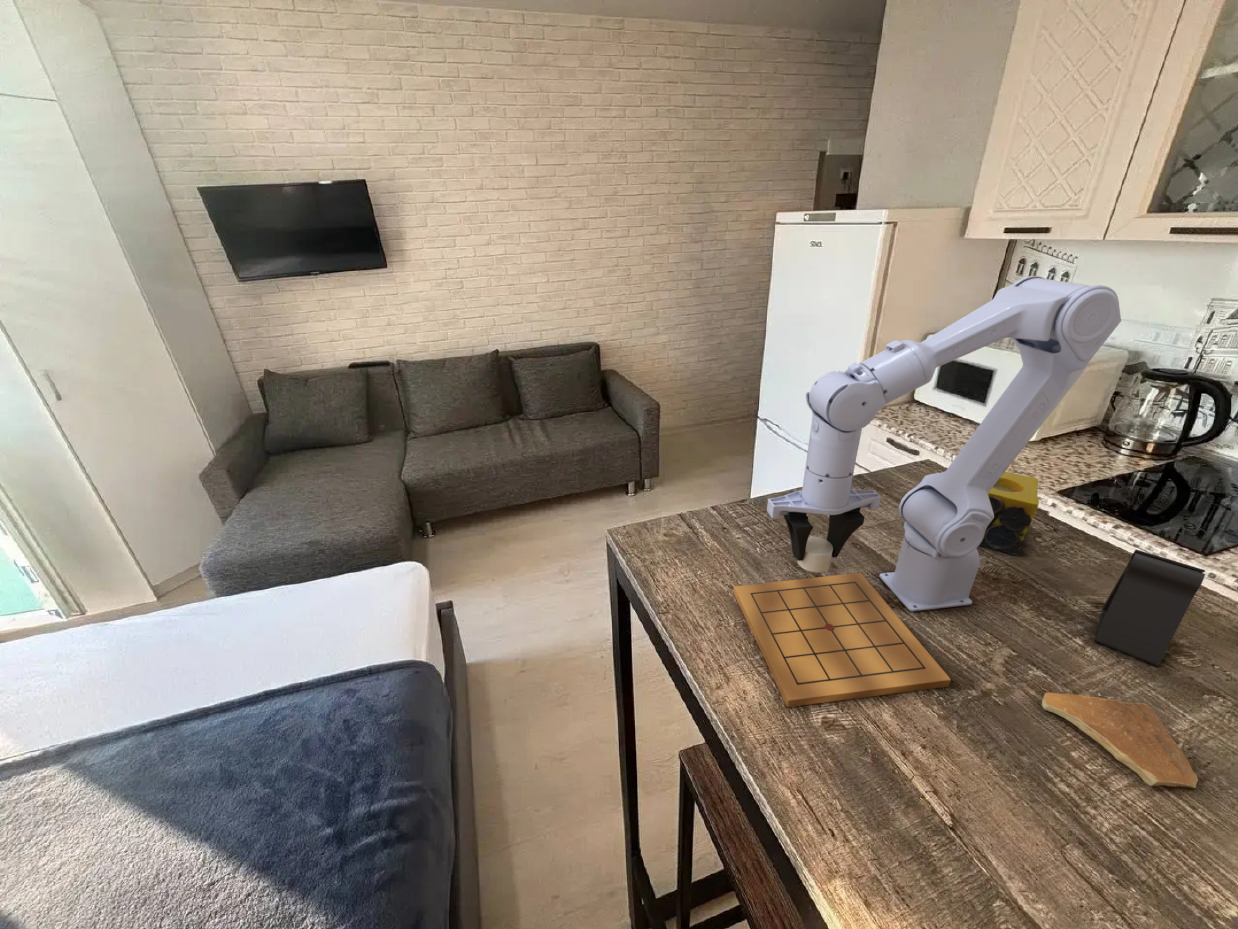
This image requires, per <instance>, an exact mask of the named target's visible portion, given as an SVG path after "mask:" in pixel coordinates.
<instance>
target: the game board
mask: <svg viewBox="0 0 1238 929" xmlns="http://www.w3.org/2000/svg"><path fill="white" fill-rule="evenodd" d="M733 594H734V597H735V599H736V601H737V604H738V606H739V607H740V610H741V612H742V615H743V616H744V618H745V621H746V623H747V625H748V627H749V629H750V631H751V633H752V635H753V638H754V639H755V642H756V644H757V646H758V648H759V650H760V652H761V655H762V657H763V659H764V661H765V663H766V665H767V668H768V669H769V671H770V674H771V676H772V679H773V680H774V682H775V684H776V686H777V688H778V691H779V693H780V695H781V697H782V699H783V701H784V704H785V705H786V707H787V708H791V707H793V708H794V707H800V706H801V707H802V706H808V705H817V704H823V703H824V704H825V703H832V702H838V701H839V702H841V701H846V700H854V699H863V698H869V697H870V698H871V697H879V696H886V695H892V694H894V695H895V694H901V693H908V692H915V691H923V690H932V689H939V688H946V687H949V686H950V683H951V682H952V679H951V678H950V676H949V675H948V674H947V673H946V671H945V670H944V669H943V668H942V667H941V666H940V665H939V663H938V662H937V661H936V660H935V659H934V658H933V656H932V655H931V654H930V653H929V652H928V651H927V650H926V648H925V647H924V646H923V645H922V643H921V642H920V641H919V639H917V637H916V636H915V635H914V634H913V633H912V631H911V630H910V629H909V628H908V626H906V624H905V623H904V622H903V621H902V620H901V619H900V617H899V616H898V615H897V613H896V612H895V611H894V610H893V609H892V608H891V606H890V605H889V604H888V603H887V602H886V601H885V600H884V598H883V597H882V596H881V595H880V594H879V592H878V591H877V590H876V589H875V588H874V586H872V584H871V583H870V582H869V581H868V580H867V578H866V577H865V576H864V575H863V573H862V572H854V573H845V574H838V575H837V574H836V575H835V574H834V575H826V576H818V577H809V578H808V577H807V578H799V579H789V580H780V581H771V582H763V583H753V584H745V585H744V584H743V585H734V586H733Z"/></svg>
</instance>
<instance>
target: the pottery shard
mask: <svg viewBox="0 0 1238 929" xmlns="http://www.w3.org/2000/svg"><path fill="white" fill-rule="evenodd" d="M1041 707H1042V709H1043V710H1044V711H1048V712H1050V713H1053V714H1055V715H1057V716H1059V717H1062V718H1064V719H1065V720H1067V721H1068V722H1070V723H1072V724H1073V726H1076V727H1077V728H1078V729H1079V730H1080V731H1082V732H1083V733H1084V734H1086V735H1087V736H1088V737H1090V738H1091V739H1092V740H1094V741H1095V742H1097V743H1098V744H1099V745H1101V747H1103V748H1104V749H1105V750H1106V751H1107V752H1109V753H1110V754H1111V755H1112V756H1113V757H1114V759H1116V760H1117V761H1118V762H1120V763H1122V764H1124V765H1125V766H1126V767H1128V768H1129V769H1130V770H1132V771H1133V772H1135V774H1137V775H1138V776H1139V778H1141V780H1143V782H1144V783H1145V784H1147V785H1148V786H1149V787H1155V786H1166V787H1184V788H1185V787H1186V788H1191V789H1196V788H1197V783H1198V781H1199V778H1198V776H1197V774H1196V773H1195V772H1194V770H1193V769H1192V765H1191V763H1190V762H1189V760H1188V758H1187V757H1186V755H1185V754H1184V753H1183V751H1182V749H1181V747H1180V746H1179V745H1178V743H1176V742H1175V740H1174V739H1173V738H1172V736H1171V734H1170V731H1169V730H1168V728H1167V727H1166V726H1165V725H1164V724H1163V722H1162V721H1161V720H1160V718H1159V717H1158V716H1157V715H1156V714H1155V712H1154V711H1153V710H1152V708H1150V706H1149V705H1148V704H1147V703H1142V702H1126V701H1125V702H1124V701H1119V700H1116V699H1109V698H1102V697H1097V696H1088V695H1081V694H1069V693H1059V692H1058V693H1057V692H1045V693H1044V695H1043V696H1042V702H1041Z"/></svg>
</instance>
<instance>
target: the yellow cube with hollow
mask: <svg viewBox="0 0 1238 929" xmlns="http://www.w3.org/2000/svg"><path fill="white" fill-rule="evenodd" d="M1038 485H1039V479H1038V478H1037V477H1034V476H1029V475H1023V474H1018V473H1015V472H1009V471H1005V472H1004V473H1003V475H1002V476H1001V477H1000V478H999V480H998V481H997V482H996V484H995V485H994V486H993V487H992V489H991V490H990V491H989V492H988V496H989V500H990V503H991V506H992V510H993V513H994V518H993V520H992V521H991V522H990V524H989V525H988V526H987V528H986V531H985V534H984V538H983V540H982V542H981V543H980V545H979V546H980V547H984V548H988V549H991V550H994V551H1000V552H1003V553H1006V554H1009V555H1013V556H1017V555H1019V554H1020V551H1021V548H1022V547H1023V544H1024V541H1025V536H1026V534H1027V532H1028V530H1029V527H1030V525H1031V523H1032V521H1033V519H1034V517H1035V515H1036V512H1037V509H1038V507H1039V504H1040V500H1039V496H1038ZM979 546H978V547H979Z"/></svg>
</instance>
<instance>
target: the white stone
mask: <svg viewBox="0 0 1238 929" xmlns="http://www.w3.org/2000/svg"><path fill="white" fill-rule="evenodd" d="M832 553H833V546H832V544H831V543H830V542H829V541H827V539H825V538H823V537H819V536H814V535H813V536H811V535H809V537H808V540H807V544H806V550H805V556H804V559H803V561H798V560H797V559H796V562H797V565H798V566H799V567H800V568H802V569H803V570H805V571H807V572H810V573H825V572H826V571H828V570H829V569H830V568H831V563H832V558H833V557H832Z"/></svg>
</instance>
